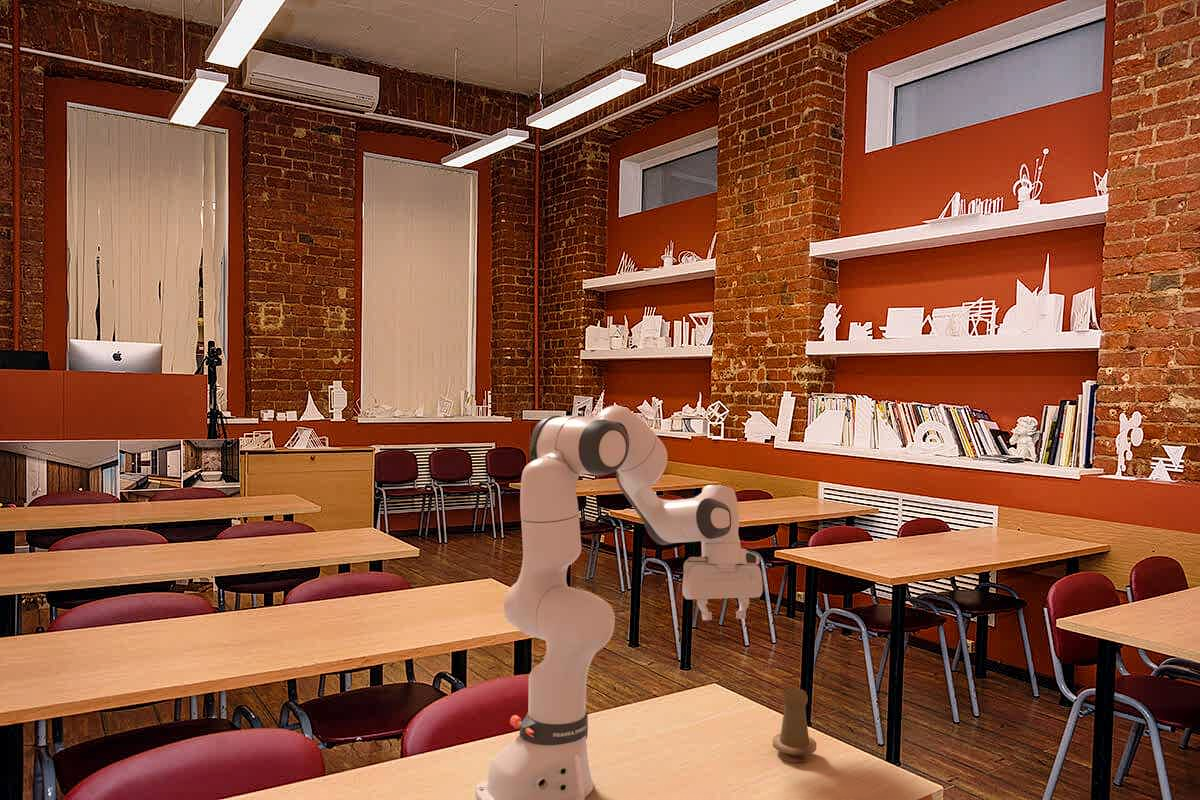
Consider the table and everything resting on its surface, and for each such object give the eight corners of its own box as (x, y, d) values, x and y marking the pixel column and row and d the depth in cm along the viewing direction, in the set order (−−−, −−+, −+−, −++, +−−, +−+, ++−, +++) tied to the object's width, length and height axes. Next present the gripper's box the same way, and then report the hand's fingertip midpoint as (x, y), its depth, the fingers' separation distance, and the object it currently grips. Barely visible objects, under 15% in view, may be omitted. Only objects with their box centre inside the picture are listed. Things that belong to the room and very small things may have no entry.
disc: (793, 769, 175) (793, 754, 175) (763, 752, 183) (763, 738, 183) (825, 759, 180) (825, 745, 180) (795, 744, 188) (795, 729, 187)
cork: (809, 749, 178) (810, 695, 177) (779, 746, 179) (780, 693, 179) (809, 737, 183) (809, 686, 183) (780, 734, 185) (780, 683, 185)
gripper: (691, 556, 189) (694, 621, 186) (765, 556, 199) (768, 618, 196) (675, 557, 194) (677, 620, 191) (747, 557, 204) (750, 617, 201)
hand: (724, 619), depth 194 cm, fingers open, 8 cm apart
